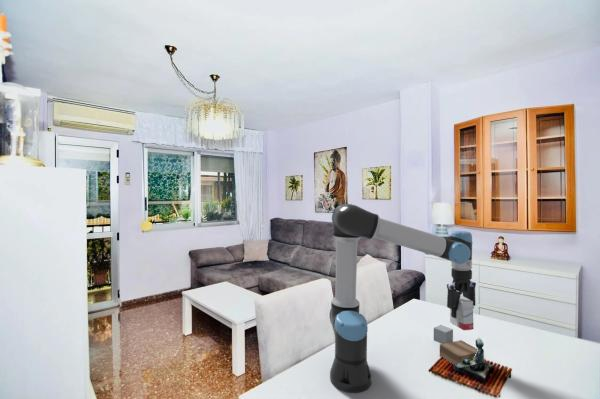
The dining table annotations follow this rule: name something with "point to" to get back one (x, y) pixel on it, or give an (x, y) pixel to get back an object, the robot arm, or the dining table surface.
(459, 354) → the walnut block
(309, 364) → the dining table surface
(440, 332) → the slate block
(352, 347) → the robot arm
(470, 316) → the ink box
